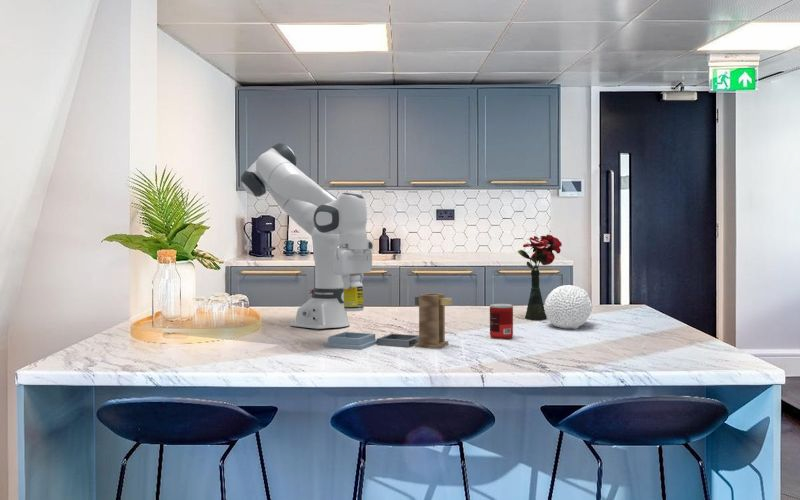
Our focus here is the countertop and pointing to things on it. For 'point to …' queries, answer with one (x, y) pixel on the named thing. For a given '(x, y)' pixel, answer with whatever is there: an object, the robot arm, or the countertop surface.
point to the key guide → (431, 321)
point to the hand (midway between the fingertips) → (352, 287)
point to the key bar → (441, 301)
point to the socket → (398, 340)
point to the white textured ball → (568, 307)
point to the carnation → (545, 257)
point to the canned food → (501, 321)
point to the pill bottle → (354, 295)
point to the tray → (351, 340)
